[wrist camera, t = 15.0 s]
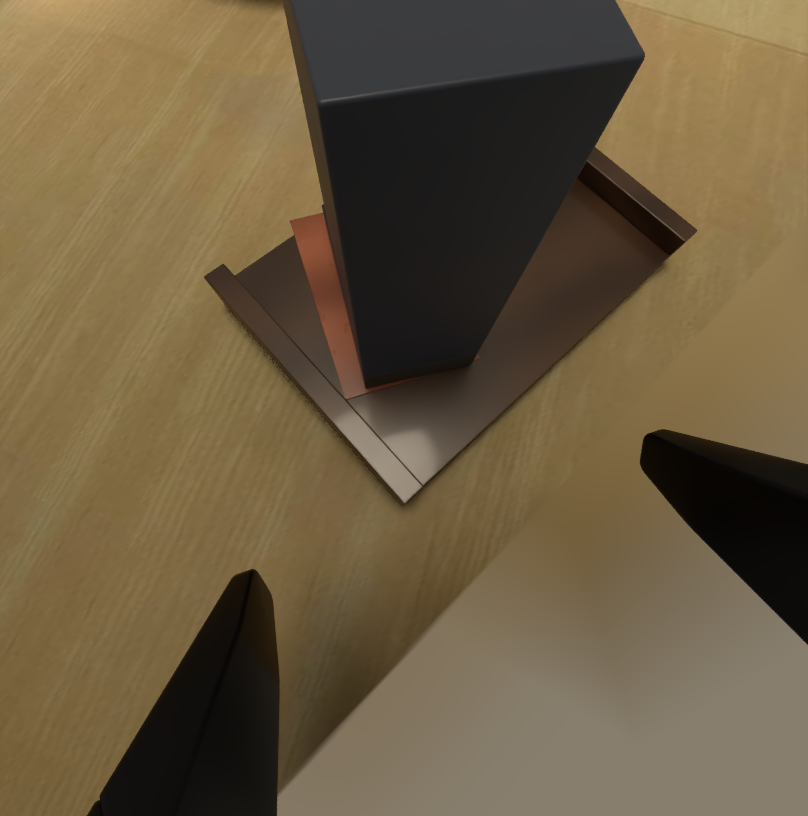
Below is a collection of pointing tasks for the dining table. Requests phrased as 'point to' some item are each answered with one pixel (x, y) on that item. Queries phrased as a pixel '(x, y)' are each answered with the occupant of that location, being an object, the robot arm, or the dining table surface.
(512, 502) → the dining table surface
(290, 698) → the dining table surface
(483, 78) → the charcoal gray box
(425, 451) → the brown serving tray
